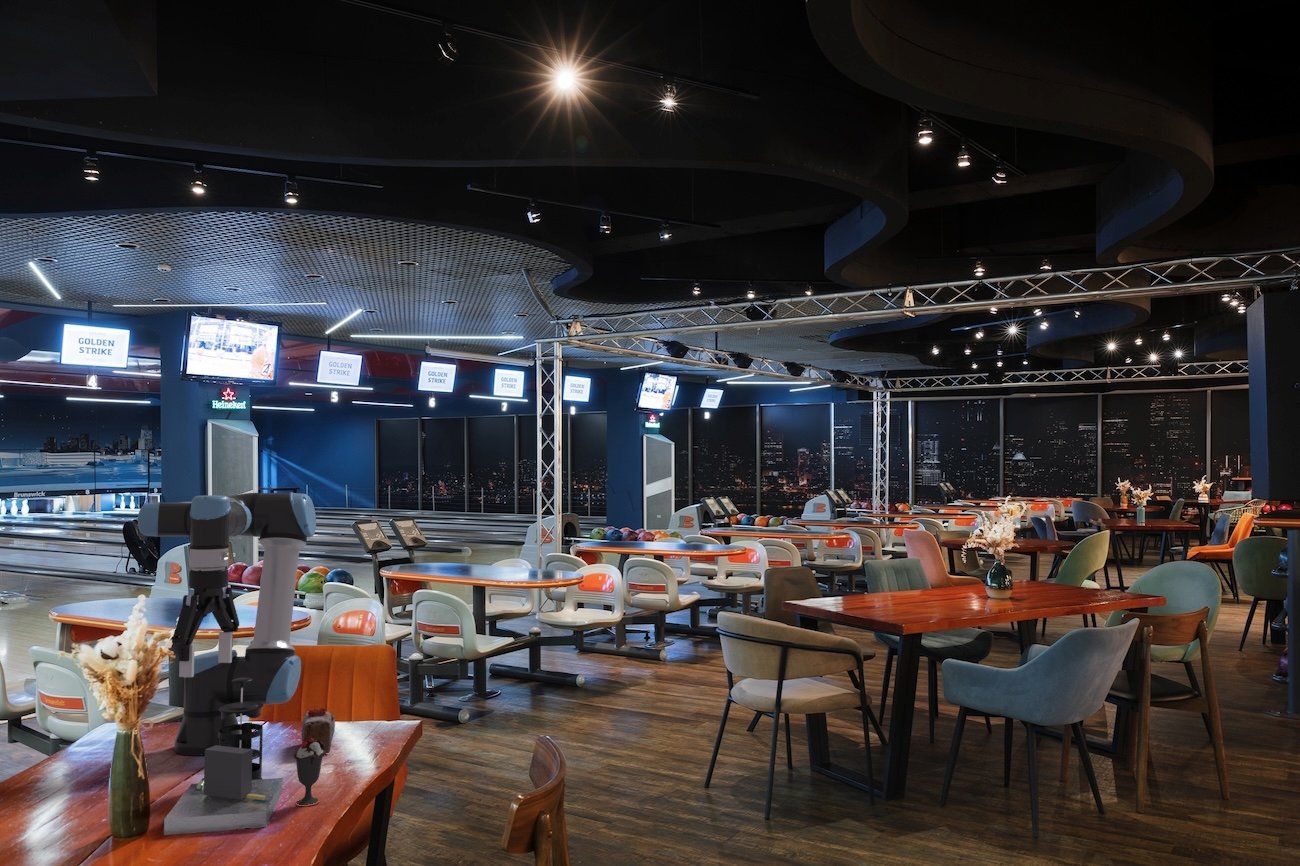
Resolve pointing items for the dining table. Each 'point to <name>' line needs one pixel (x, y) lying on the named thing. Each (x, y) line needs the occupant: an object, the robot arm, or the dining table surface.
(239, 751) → the dark grey rectangular block
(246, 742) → the french press
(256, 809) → the base
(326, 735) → the food item
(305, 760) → the sundae
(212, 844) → the dining table surface
